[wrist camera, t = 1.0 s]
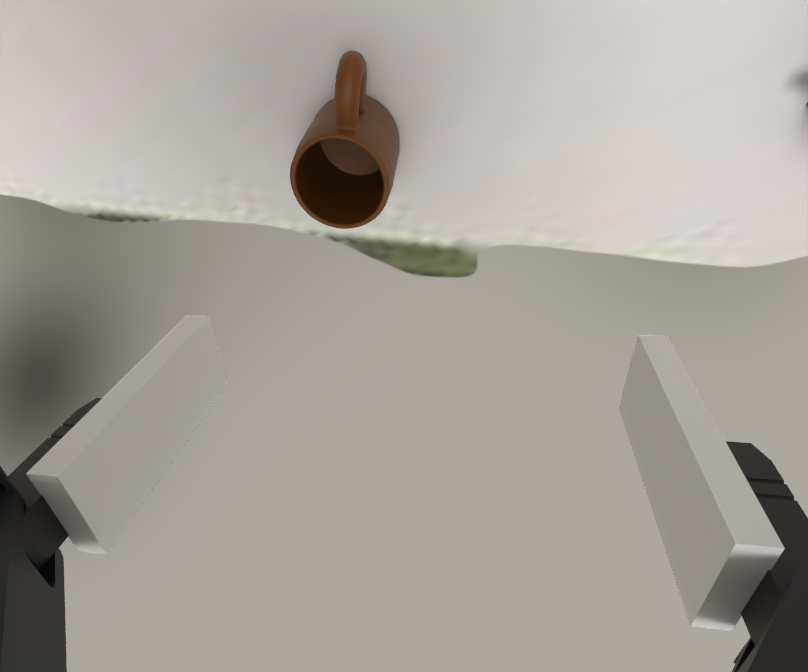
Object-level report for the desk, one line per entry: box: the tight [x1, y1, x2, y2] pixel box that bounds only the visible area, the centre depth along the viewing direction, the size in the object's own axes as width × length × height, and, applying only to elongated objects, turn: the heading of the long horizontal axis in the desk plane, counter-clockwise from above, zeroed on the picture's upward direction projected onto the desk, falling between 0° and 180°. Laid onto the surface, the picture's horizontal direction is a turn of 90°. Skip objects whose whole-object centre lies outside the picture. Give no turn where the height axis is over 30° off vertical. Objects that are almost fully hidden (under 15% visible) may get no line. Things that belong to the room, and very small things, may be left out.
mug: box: [290, 51, 399, 228], centre depth 38 cm, size 12×8×9 cm, turn 171°
